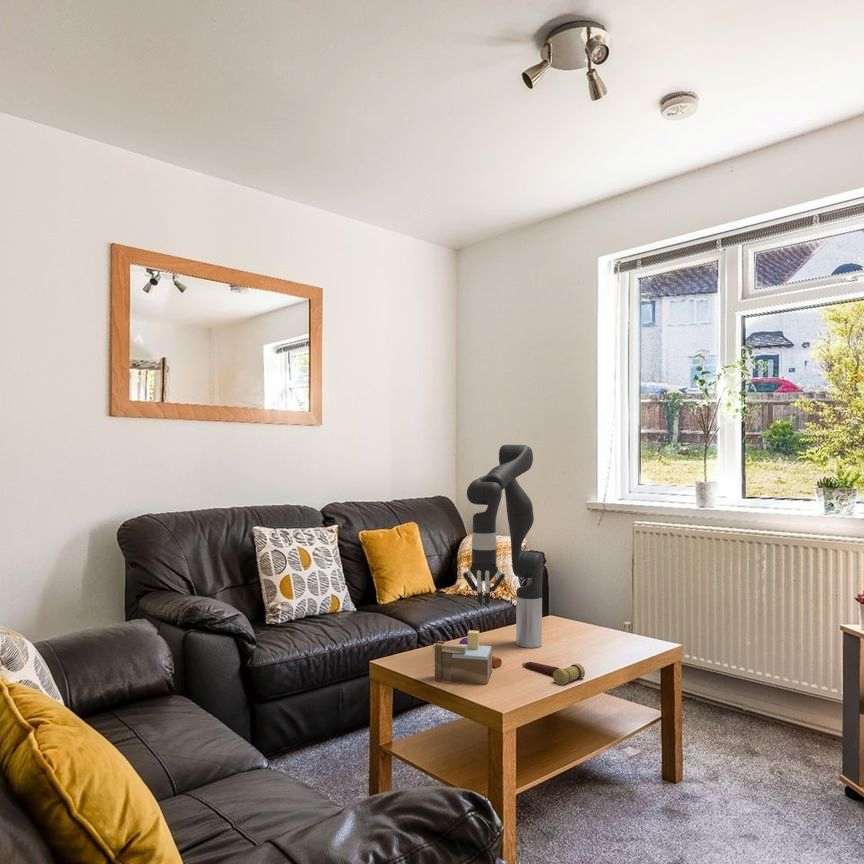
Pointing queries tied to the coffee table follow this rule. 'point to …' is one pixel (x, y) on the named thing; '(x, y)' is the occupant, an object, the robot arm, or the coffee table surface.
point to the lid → (474, 648)
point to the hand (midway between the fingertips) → (483, 604)
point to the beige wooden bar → (452, 648)
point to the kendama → (495, 661)
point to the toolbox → (461, 667)
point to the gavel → (558, 671)
